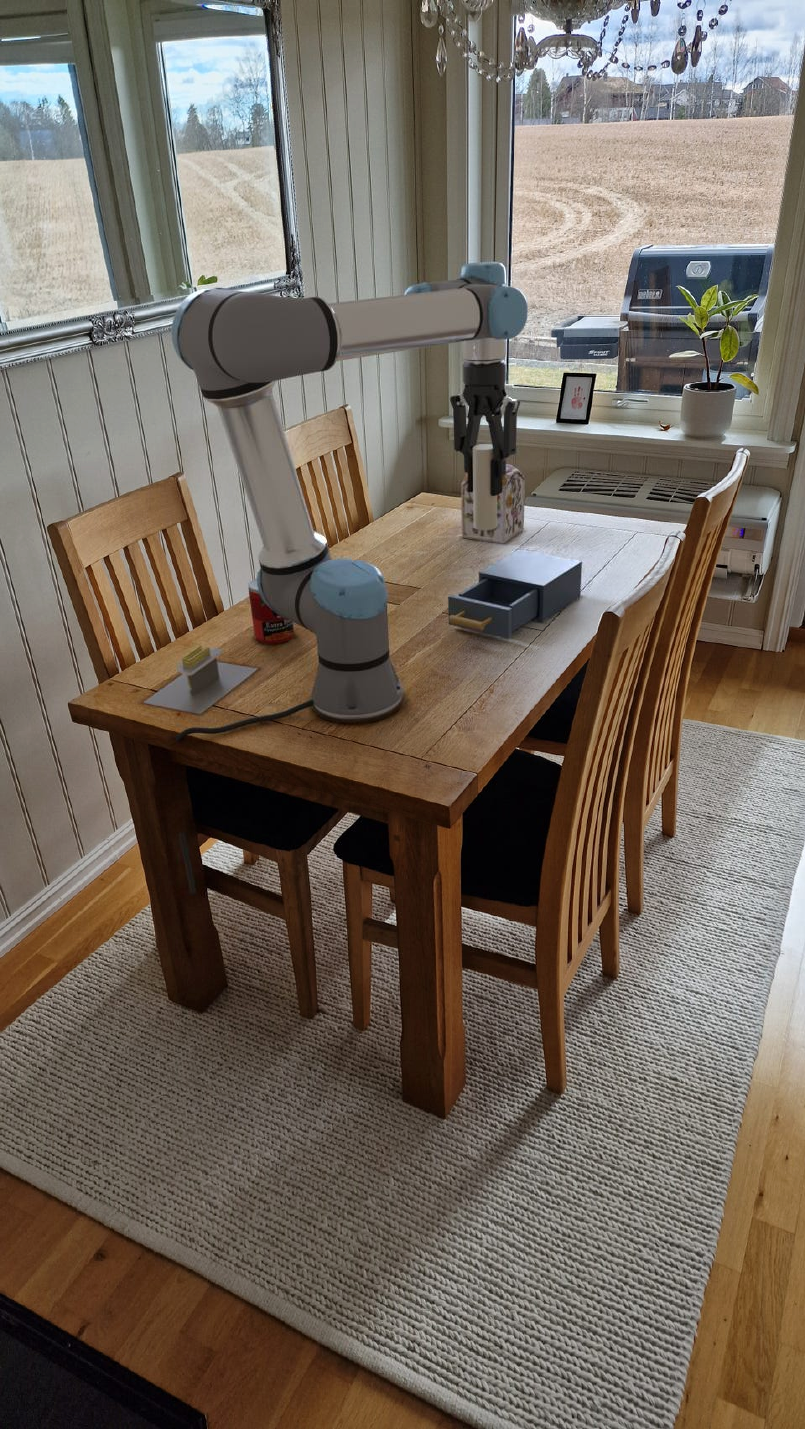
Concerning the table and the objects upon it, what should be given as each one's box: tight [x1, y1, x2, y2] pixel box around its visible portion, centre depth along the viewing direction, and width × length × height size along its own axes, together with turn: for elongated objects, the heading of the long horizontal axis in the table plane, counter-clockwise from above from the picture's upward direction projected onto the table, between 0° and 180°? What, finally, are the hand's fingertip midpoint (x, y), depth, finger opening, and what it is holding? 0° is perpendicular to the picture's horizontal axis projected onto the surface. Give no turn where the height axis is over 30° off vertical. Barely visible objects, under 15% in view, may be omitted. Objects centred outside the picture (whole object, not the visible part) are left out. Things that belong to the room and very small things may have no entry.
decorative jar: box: [460, 463, 526, 545], centre depth 230 cm, size 12×12×18 cm
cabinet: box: [478, 549, 583, 623], centre depth 194 cm, size 16×15×8 cm
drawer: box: [447, 578, 540, 640], centre depth 184 cm, size 19×13×6 cm
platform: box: [142, 644, 258, 715], centre depth 168 cm, size 12×18×7 cm, turn 155°
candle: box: [473, 443, 497, 530], centre depth 179 cm, size 4×4×15 cm
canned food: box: [248, 577, 295, 645], centre depth 184 cm, size 8×8×11 cm
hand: (484, 492), depth 180 cm, fingers closed on candle, 4 cm apart
